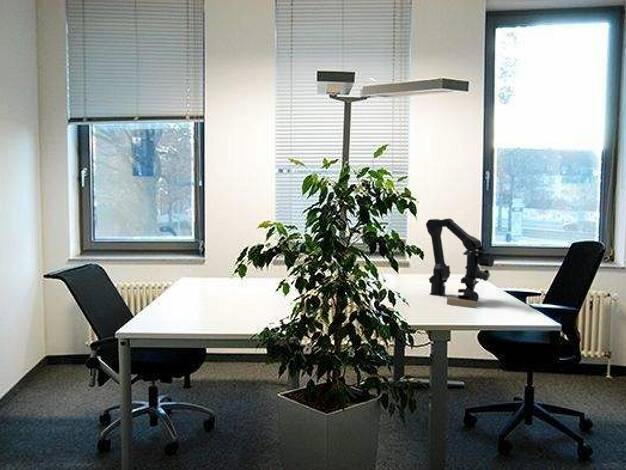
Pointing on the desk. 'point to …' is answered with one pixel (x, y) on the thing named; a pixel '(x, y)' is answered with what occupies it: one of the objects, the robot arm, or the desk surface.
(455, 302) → the mat
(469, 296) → the end cap
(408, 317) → the desk surface
